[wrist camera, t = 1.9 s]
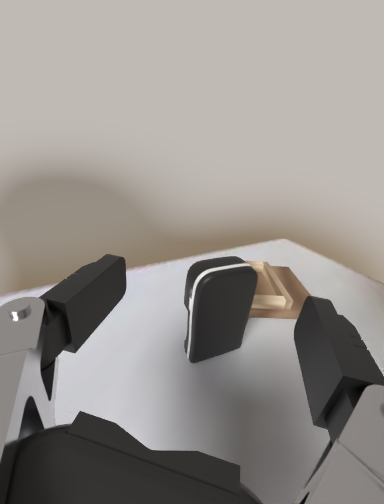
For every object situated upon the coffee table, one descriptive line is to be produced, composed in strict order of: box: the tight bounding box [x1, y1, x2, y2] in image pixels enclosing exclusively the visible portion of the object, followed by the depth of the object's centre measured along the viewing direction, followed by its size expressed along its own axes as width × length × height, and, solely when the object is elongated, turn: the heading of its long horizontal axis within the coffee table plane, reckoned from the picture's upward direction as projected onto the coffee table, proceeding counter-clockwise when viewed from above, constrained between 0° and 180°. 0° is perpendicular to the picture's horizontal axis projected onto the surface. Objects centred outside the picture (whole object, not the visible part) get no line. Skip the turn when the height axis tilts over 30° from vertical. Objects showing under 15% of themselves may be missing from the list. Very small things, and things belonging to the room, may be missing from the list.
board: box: [245, 261, 311, 319], centre depth 37 cm, size 16×13×3 cm
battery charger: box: [184, 256, 258, 363], centre depth 24 cm, size 7×4×11 cm, turn 114°
